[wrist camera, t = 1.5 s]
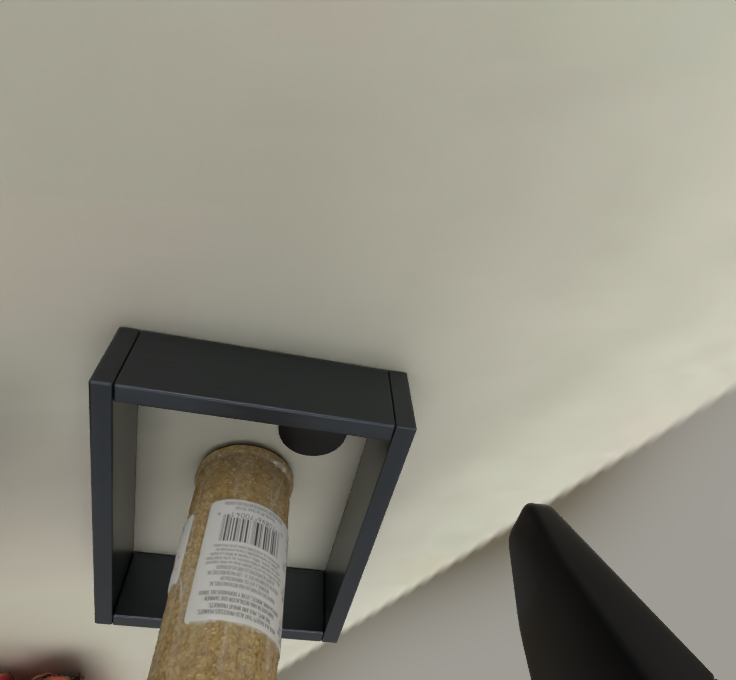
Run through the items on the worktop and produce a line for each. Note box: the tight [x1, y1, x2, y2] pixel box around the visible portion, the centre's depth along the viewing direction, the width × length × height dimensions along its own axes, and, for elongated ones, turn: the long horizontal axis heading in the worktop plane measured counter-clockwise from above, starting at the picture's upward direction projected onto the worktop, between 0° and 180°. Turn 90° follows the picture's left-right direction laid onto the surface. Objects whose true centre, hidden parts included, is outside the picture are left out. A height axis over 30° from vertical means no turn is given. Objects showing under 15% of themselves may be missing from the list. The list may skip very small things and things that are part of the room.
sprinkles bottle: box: [147, 445, 293, 680], centre depth 22 cm, size 5×5×13 cm
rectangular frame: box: [89, 327, 417, 643], centre depth 26 cm, size 12×15×4 cm
